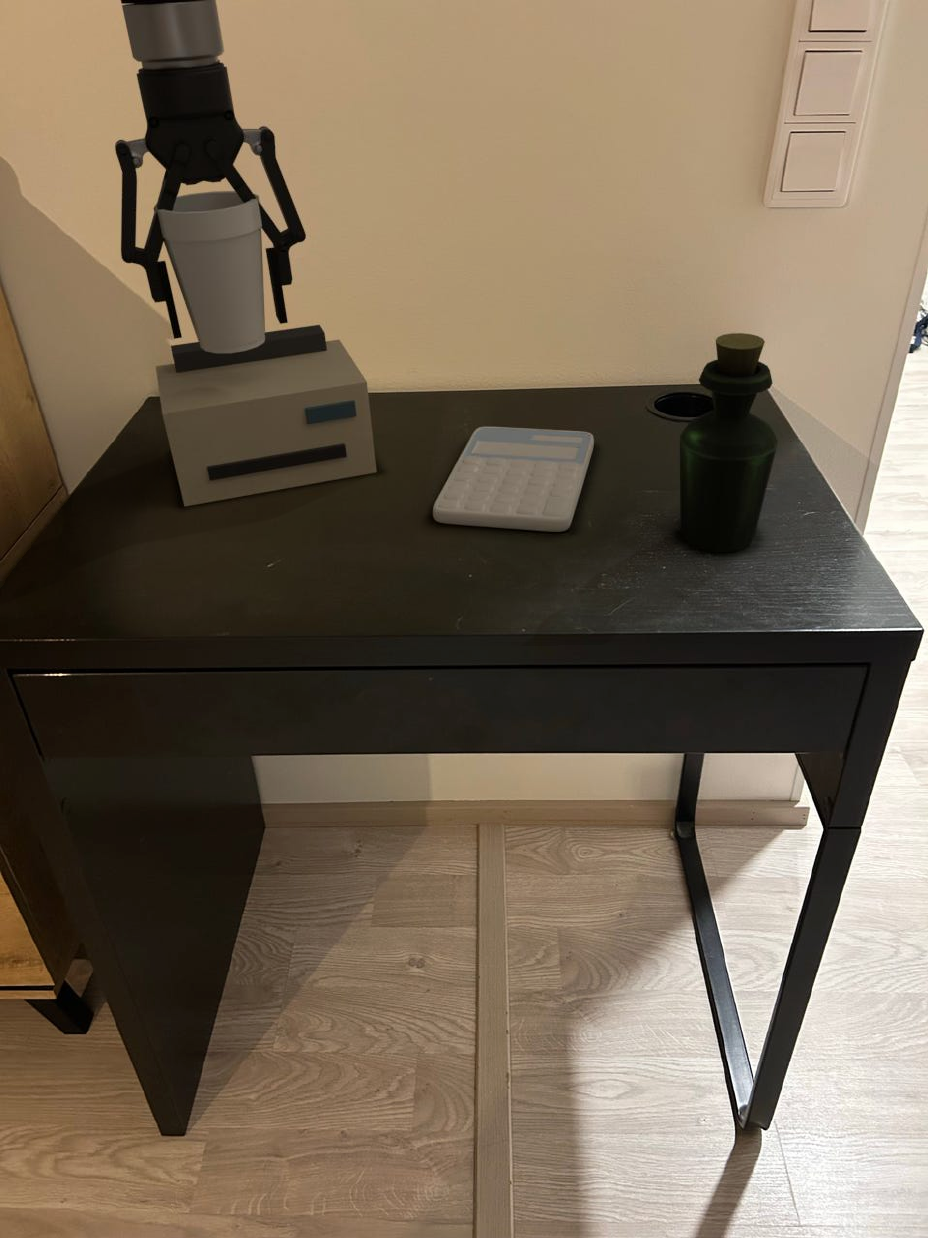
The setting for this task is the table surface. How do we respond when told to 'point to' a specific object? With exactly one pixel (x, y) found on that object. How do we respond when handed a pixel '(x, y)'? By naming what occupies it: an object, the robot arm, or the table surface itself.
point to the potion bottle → (727, 451)
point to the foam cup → (218, 267)
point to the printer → (265, 416)
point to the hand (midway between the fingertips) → (230, 326)
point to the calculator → (516, 479)
